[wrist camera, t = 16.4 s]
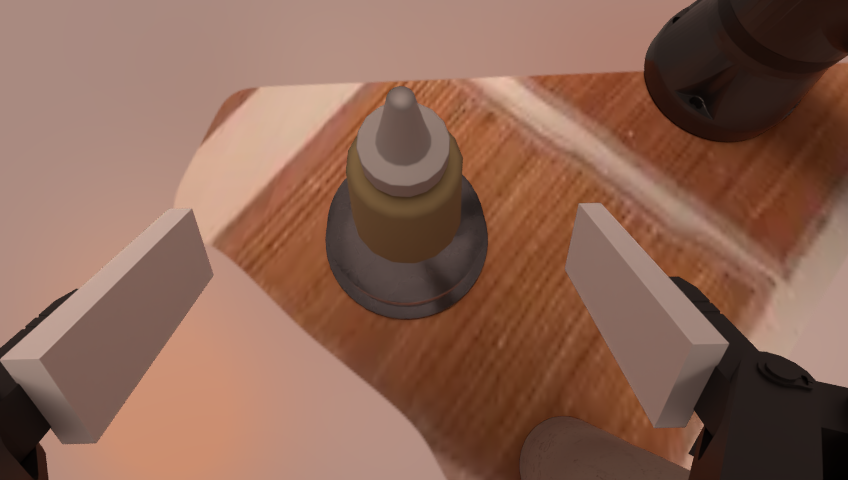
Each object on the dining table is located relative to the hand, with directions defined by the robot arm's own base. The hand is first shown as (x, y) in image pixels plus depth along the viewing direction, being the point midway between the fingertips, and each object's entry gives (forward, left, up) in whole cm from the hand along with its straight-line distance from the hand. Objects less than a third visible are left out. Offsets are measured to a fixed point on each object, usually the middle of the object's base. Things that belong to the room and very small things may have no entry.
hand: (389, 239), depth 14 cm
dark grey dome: (0, -6, -24) cm, 24 cm away
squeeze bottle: (0, -6, -19) cm, 20 cm away
